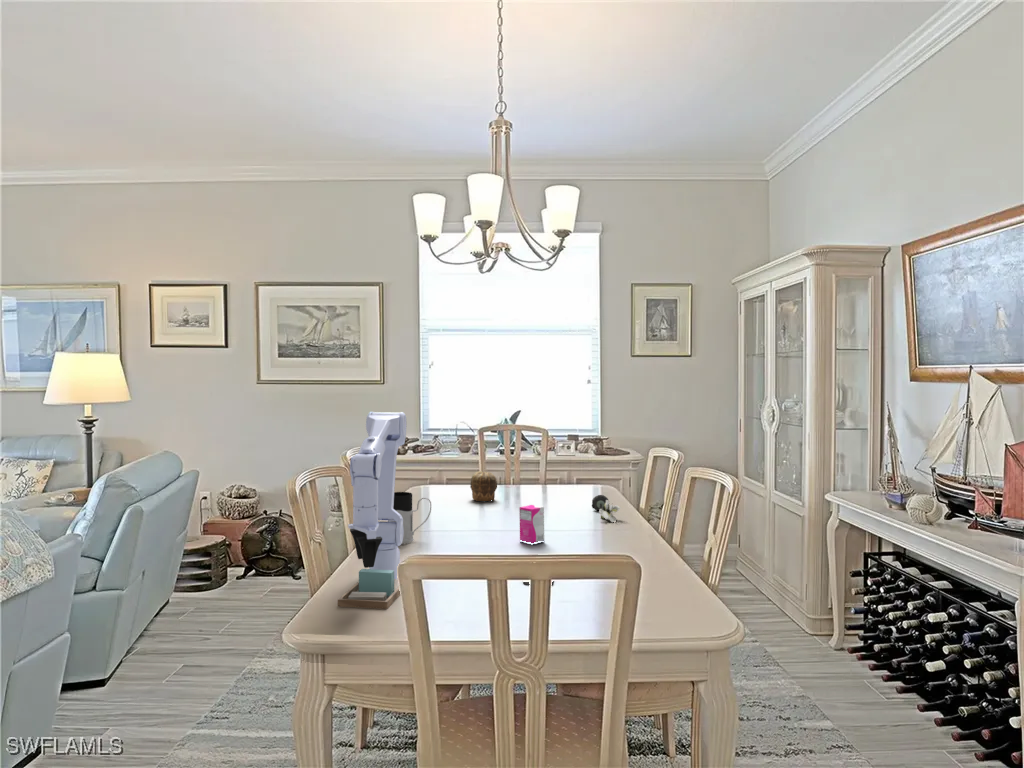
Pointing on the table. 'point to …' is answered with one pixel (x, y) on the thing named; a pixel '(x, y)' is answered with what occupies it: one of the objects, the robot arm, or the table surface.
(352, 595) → the grey offcut
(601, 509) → the artificial flower
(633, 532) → the table surface
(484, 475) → the brown muffin
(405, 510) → the glass holder
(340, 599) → the brown shallow rectangular tray
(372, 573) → the teal board
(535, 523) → the supplement box
